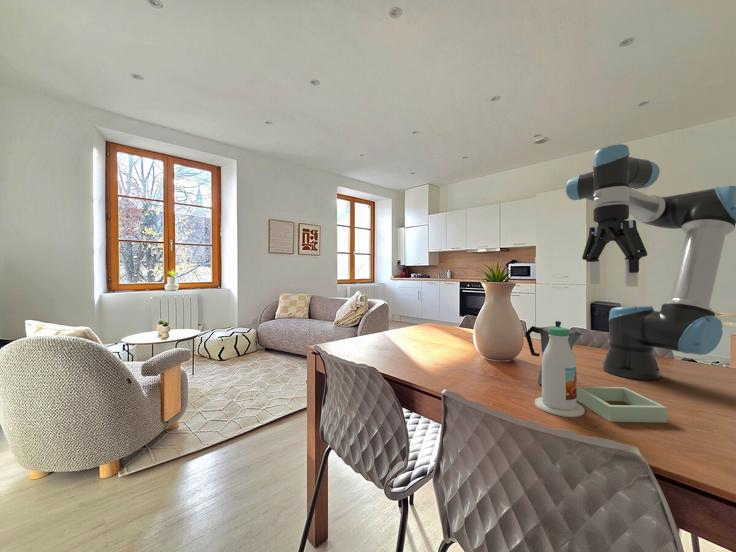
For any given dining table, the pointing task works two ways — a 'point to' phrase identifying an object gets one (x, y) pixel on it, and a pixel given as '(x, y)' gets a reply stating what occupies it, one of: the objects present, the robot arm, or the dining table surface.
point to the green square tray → (634, 412)
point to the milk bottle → (559, 371)
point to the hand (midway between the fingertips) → (610, 285)
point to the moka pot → (545, 340)
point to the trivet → (565, 413)
